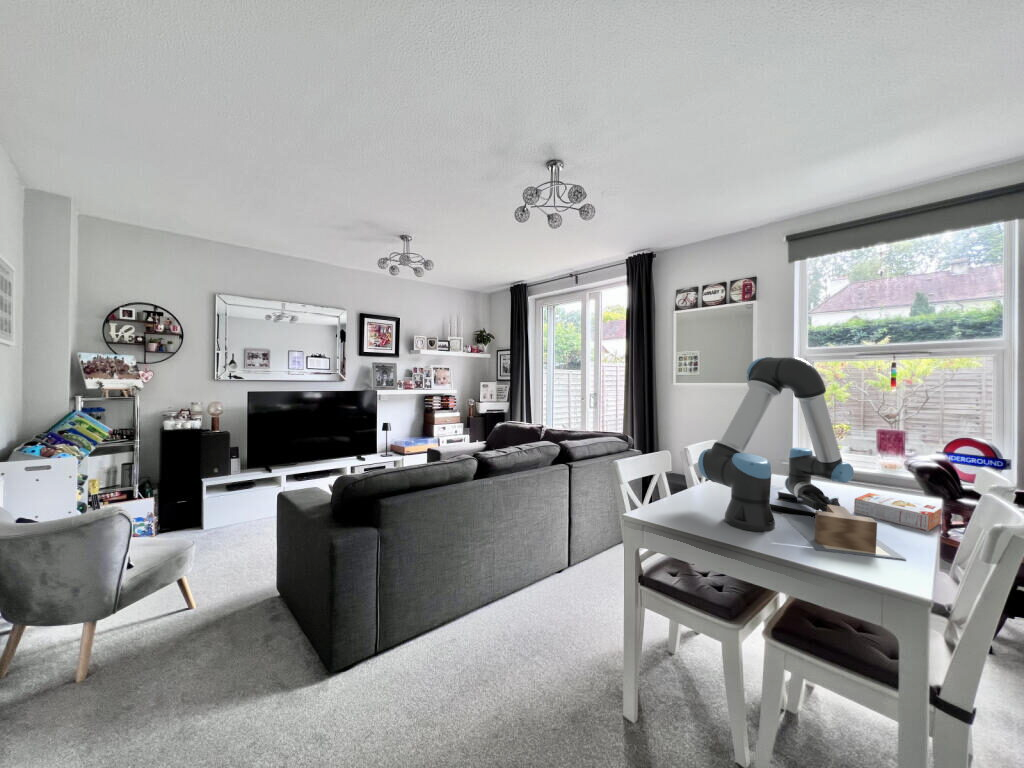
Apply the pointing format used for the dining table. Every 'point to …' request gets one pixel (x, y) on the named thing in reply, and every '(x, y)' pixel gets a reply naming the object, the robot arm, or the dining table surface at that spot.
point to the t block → (845, 529)
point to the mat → (807, 529)
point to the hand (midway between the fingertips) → (838, 514)
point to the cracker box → (898, 511)
